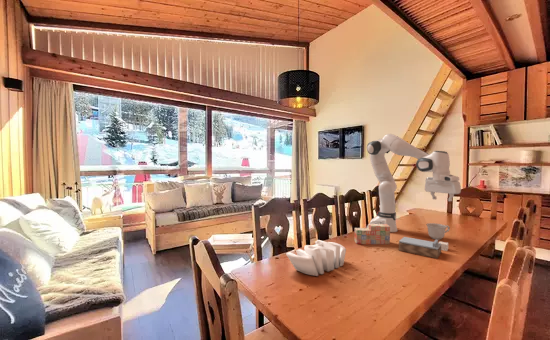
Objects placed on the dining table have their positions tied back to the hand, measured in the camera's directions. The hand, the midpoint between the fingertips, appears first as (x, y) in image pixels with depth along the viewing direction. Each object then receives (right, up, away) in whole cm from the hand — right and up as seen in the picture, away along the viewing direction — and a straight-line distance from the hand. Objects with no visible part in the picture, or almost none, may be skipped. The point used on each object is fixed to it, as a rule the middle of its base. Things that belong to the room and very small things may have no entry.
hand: (441, 200), depth 152 cm
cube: (+1, -31, +1) cm, 31 cm away
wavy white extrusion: (-78, -32, -20) cm, 87 cm away
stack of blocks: (-36, -31, +16) cm, 50 cm away
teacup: (+12, -30, +21) cm, 39 cm away
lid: (-15, -26, -2) cm, 30 cm away
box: (-15, -31, -2) cm, 34 cm away
